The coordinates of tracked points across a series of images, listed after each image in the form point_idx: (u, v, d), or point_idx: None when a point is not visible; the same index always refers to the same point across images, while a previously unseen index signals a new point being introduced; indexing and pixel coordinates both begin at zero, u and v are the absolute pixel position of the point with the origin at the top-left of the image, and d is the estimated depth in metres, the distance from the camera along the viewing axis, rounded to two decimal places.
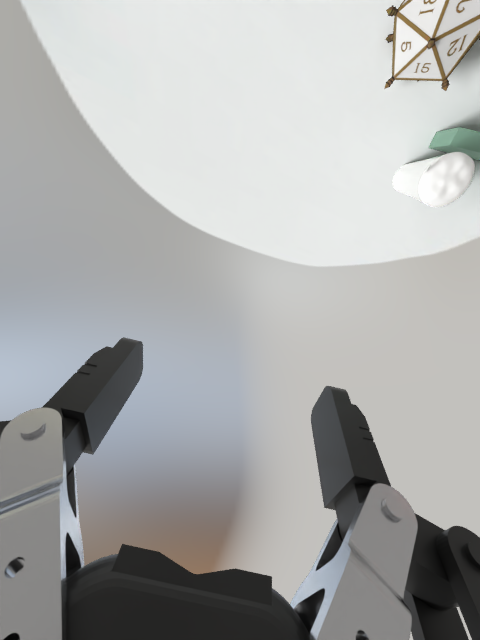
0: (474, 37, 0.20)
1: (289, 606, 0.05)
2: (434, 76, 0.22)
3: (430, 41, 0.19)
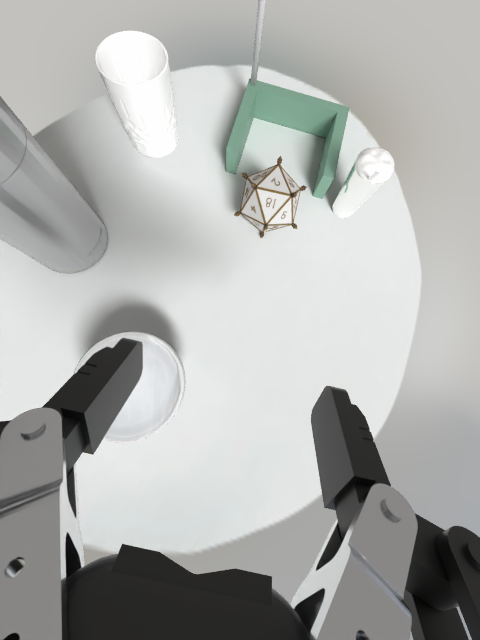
0: (287, 174, 0.30)
1: (289, 606, 0.05)
2: (298, 195, 0.31)
3: (294, 194, 0.28)
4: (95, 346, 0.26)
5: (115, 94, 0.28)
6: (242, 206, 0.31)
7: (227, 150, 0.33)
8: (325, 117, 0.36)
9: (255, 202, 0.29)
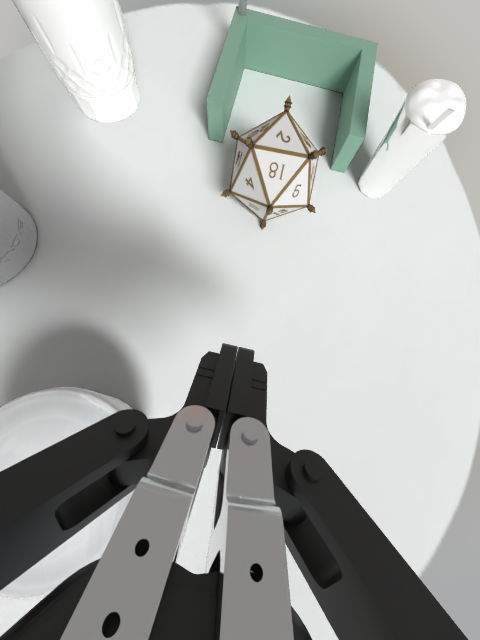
0: (299, 128, 0.20)
1: (195, 600, 0.05)
2: (316, 162, 0.21)
3: (314, 154, 0.17)
4: None
5: (22, 5, 0.18)
6: (233, 181, 0.21)
7: (208, 103, 0.23)
8: (344, 59, 0.26)
9: (252, 171, 0.19)
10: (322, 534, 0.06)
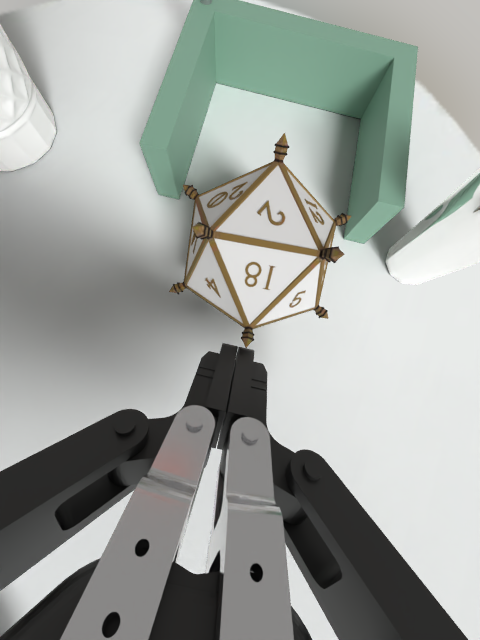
0: (303, 188, 0.11)
1: (195, 600, 0.05)
2: (331, 240, 0.12)
3: (333, 256, 0.09)
4: None
5: None
6: (187, 272, 0.12)
7: (144, 150, 0.14)
8: (365, 72, 0.17)
9: (215, 272, 0.10)
10: (322, 534, 0.06)
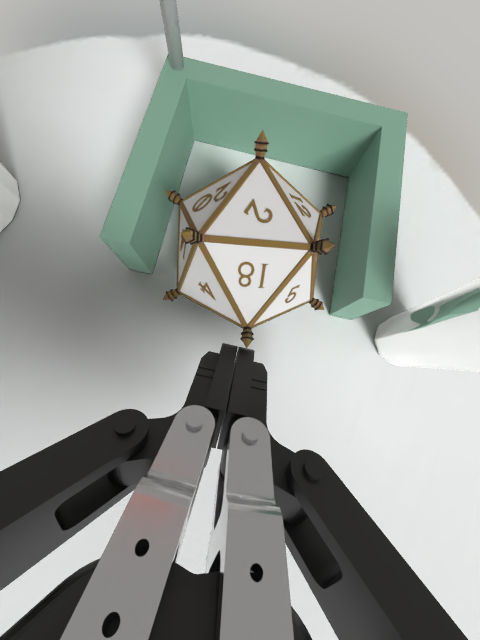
0: (287, 183, 0.11)
1: (195, 600, 0.05)
2: None
3: (324, 248, 0.09)
4: None
5: None
6: (179, 278, 0.12)
7: (106, 241, 0.13)
8: (351, 137, 0.16)
9: (208, 275, 0.10)
10: (322, 534, 0.06)
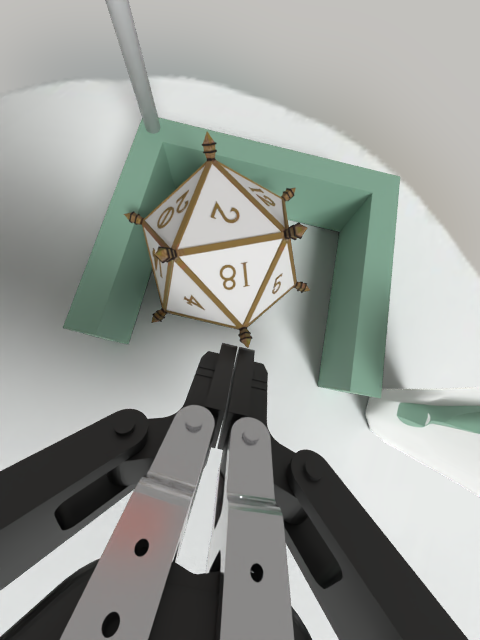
0: (243, 177, 0.11)
1: (195, 600, 0.05)
2: None
3: (298, 232, 0.09)
4: None
5: None
6: (162, 297, 0.12)
7: None
8: (340, 200, 0.15)
9: (191, 288, 0.10)
10: (322, 534, 0.06)
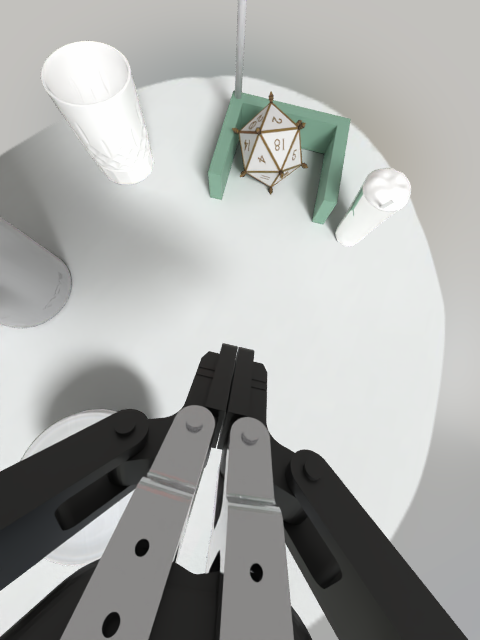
0: (281, 111, 0.27)
1: (194, 600, 0.05)
2: None
3: (302, 125, 0.25)
4: (44, 434, 0.20)
5: (68, 117, 0.23)
6: (246, 163, 0.28)
7: (209, 175, 0.28)
8: (323, 131, 0.31)
9: (262, 150, 0.27)
10: (322, 534, 0.06)
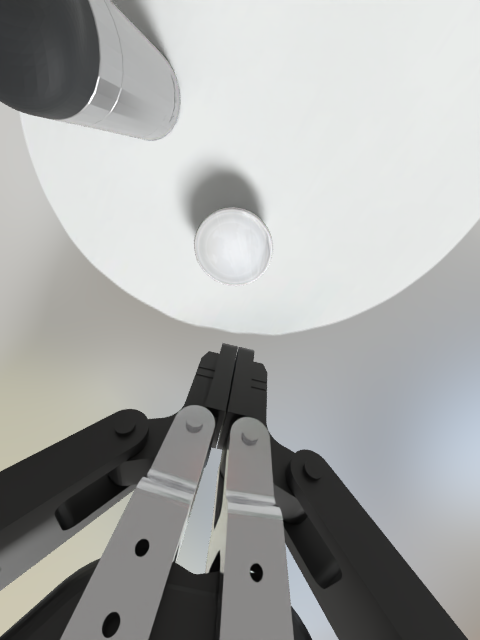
0: None
1: (195, 600, 0.05)
2: None
3: None
4: (204, 222, 0.33)
5: None
6: None
7: None
8: None
9: None
10: (322, 534, 0.06)
